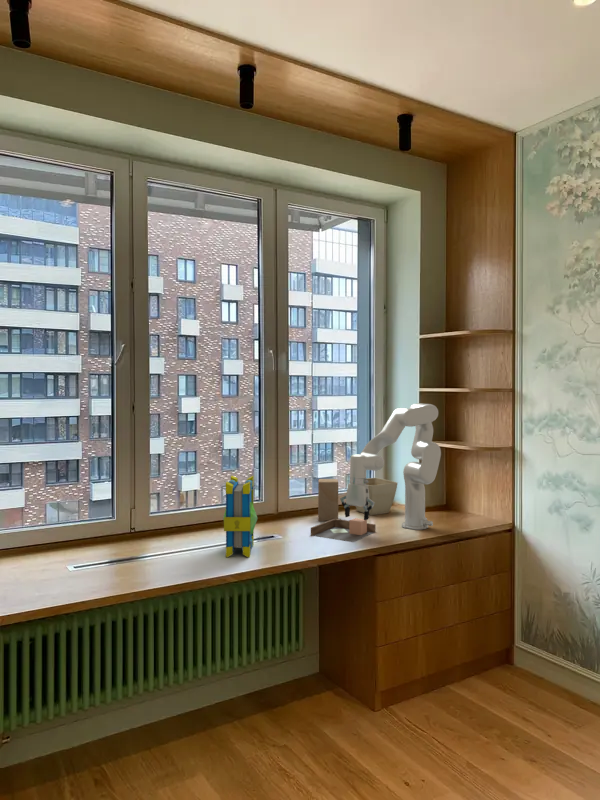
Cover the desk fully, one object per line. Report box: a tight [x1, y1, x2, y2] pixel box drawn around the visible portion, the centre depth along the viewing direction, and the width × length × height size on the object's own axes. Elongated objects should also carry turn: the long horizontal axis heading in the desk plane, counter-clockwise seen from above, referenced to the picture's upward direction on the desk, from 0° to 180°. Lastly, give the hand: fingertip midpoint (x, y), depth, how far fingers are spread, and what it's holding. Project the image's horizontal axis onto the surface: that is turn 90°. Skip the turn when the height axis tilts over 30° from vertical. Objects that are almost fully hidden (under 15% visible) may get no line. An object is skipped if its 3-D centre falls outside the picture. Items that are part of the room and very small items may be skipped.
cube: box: [348, 517, 368, 535], centre depth 284 cm, size 6×6×6 cm
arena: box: [310, 518, 377, 543], centre depth 283 cm, size 22×22×4 cm
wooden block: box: [317, 478, 339, 522], centre depth 315 cm, size 10×10×20 cm
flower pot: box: [355, 477, 398, 516], centre depth 332 cm, size 19×19×17 cm
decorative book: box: [222, 475, 259, 558], centre depth 255 cm, size 14×23×30 cm, turn 0°
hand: (356, 518), depth 284 cm, fingers open, 9 cm apart
